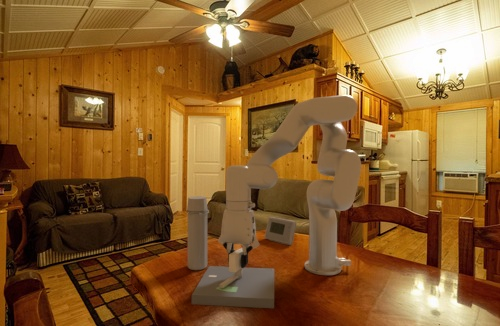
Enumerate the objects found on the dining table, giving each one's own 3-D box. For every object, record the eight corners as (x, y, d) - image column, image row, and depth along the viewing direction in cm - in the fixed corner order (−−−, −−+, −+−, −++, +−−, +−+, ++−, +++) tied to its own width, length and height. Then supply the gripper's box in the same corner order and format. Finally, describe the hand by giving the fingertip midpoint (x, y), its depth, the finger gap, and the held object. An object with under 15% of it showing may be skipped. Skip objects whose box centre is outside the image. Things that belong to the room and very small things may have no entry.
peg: (241, 272, 89) (241, 247, 89) (247, 274, 88) (247, 249, 88) (217, 288, 78) (217, 260, 78) (224, 290, 77) (224, 261, 77)
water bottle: (184, 265, 102) (184, 196, 101) (205, 262, 105) (205, 195, 104) (189, 275, 93) (189, 200, 93) (212, 271, 96) (212, 199, 96)
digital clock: (262, 238, 135) (262, 217, 135) (277, 236, 140) (277, 214, 140) (284, 247, 122) (285, 223, 122) (299, 244, 127) (300, 221, 127)
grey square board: (274, 276, 92) (274, 268, 92) (274, 308, 72) (274, 298, 72) (209, 273, 94) (209, 265, 94) (191, 304, 74) (191, 294, 74)
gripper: (267, 205, 86) (267, 265, 86) (219, 202, 91) (219, 258, 92) (260, 209, 79) (259, 274, 79) (208, 206, 84) (208, 266, 85)
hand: (238, 265), depth 85 cm, fingers open, 3 cm apart
